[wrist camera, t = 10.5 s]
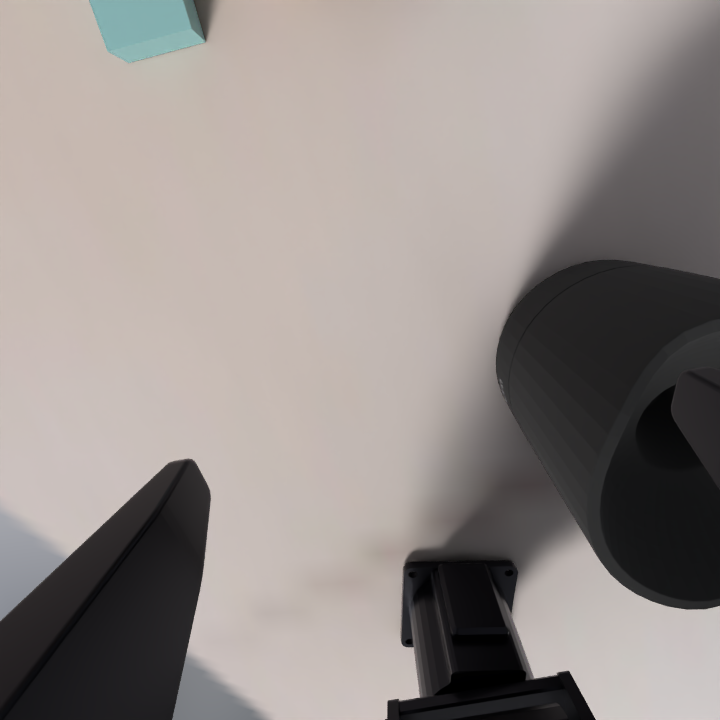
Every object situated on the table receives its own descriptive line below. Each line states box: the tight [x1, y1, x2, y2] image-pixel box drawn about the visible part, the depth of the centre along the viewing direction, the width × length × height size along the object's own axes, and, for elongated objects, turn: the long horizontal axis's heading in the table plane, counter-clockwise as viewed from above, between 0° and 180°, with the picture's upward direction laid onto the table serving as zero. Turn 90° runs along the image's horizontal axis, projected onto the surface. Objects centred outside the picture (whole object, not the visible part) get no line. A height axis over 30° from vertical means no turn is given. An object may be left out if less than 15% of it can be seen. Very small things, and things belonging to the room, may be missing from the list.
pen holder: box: [496, 260, 720, 610], centre depth 16 cm, size 9×9×10 cm
